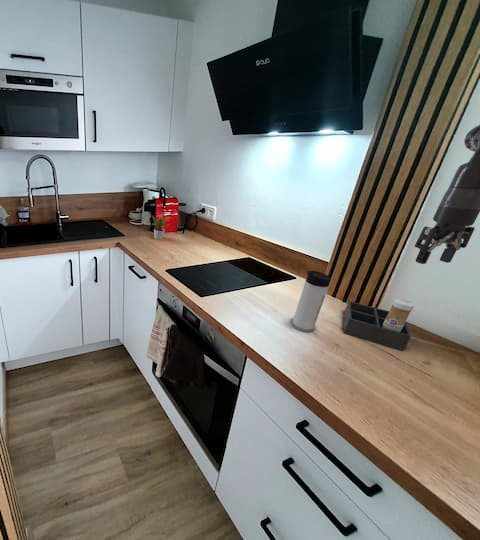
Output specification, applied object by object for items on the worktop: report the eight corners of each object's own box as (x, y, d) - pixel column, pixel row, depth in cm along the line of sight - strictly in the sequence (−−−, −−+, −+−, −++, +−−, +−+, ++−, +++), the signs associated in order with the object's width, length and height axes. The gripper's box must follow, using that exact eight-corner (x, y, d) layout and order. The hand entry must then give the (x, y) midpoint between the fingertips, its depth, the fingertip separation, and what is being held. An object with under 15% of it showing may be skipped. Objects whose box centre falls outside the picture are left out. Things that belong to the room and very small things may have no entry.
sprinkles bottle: (377, 338, 90) (394, 301, 85) (377, 332, 94) (394, 296, 88) (396, 344, 88) (415, 307, 82) (395, 338, 91) (414, 301, 85)
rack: (396, 328, 97) (403, 314, 95) (403, 351, 86) (411, 336, 84) (343, 314, 105) (348, 300, 103) (343, 333, 94) (349, 318, 92)
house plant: (174, 242, 179) (177, 216, 172) (154, 243, 175) (156, 217, 169) (165, 235, 192) (167, 211, 185) (146, 236, 188) (147, 212, 181)
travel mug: (288, 320, 100) (304, 268, 92) (308, 323, 99) (327, 270, 91) (294, 330, 94) (312, 276, 86) (316, 333, 93) (336, 278, 85)
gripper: (455, 208, 70) (426, 268, 77) (501, 207, 73) (469, 266, 79) (421, 203, 77) (397, 258, 84) (464, 202, 79) (437, 256, 86)
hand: (432, 262), depth 81 cm, fingers open, 8 cm apart
